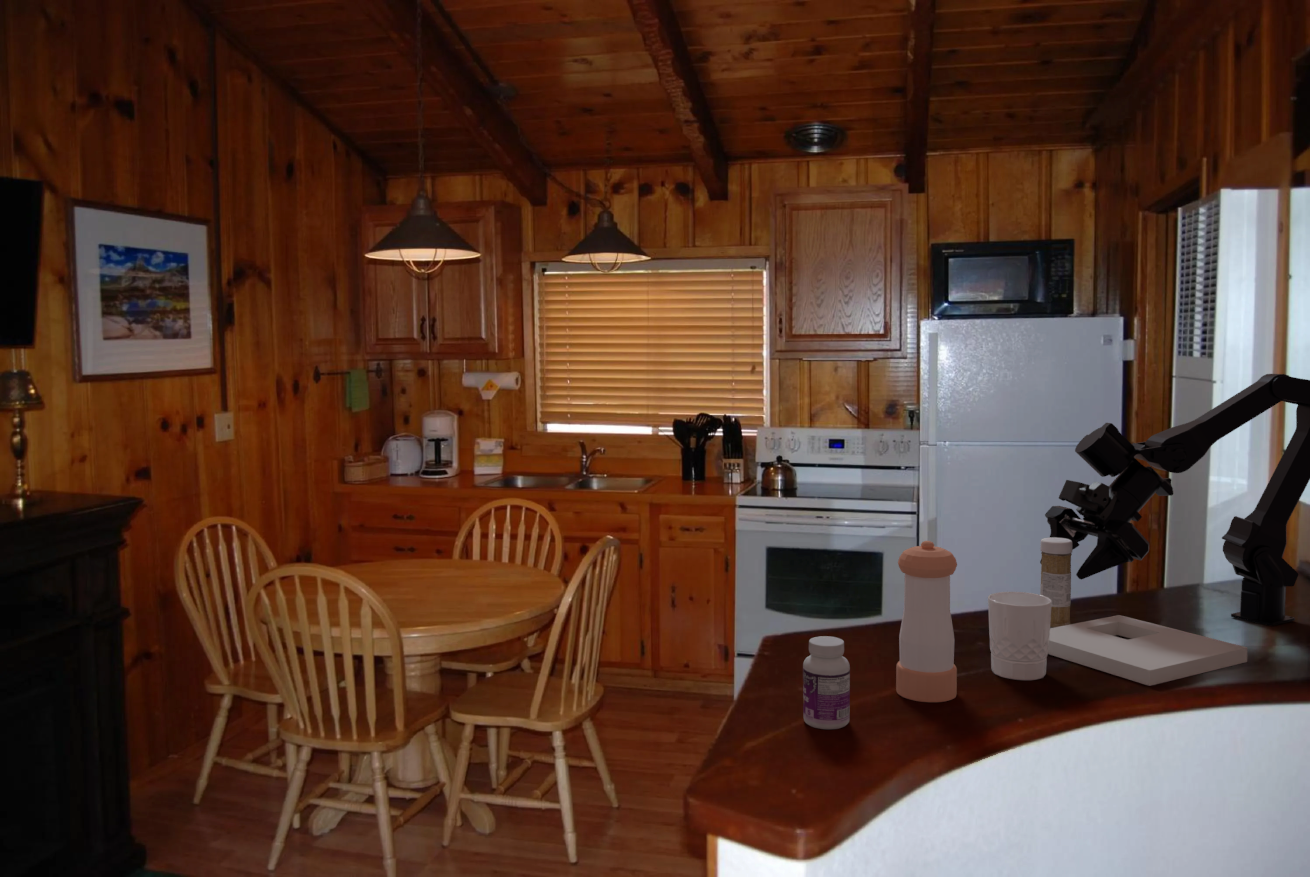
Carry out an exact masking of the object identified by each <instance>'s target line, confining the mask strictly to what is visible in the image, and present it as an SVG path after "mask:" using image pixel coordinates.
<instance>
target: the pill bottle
mask: <svg viewBox="0 0 1310 877" xmlns="http://www.w3.org/2000/svg"><path fill="white" fill-rule="evenodd" d="M808 652H809V654H810V655H809V656H807V657H805V659H804V661H803V663H802V690H803V691H802V694H803V695H802V698H803V699H802V702H803V703H802V705H803V706H802V709H803V710H802V711H803V712H802V713H803V716H802V717H803V721H804V722H805V724H806V725H808V726H810V727H811V728H815V729H821V730H838V729H839V730H840V729H841V728H844V727H846V726H847V725H848V724H849V723H850V718H851V717H850V713H851V712H850V707H851V706H850V704H851V703H850V702H851V701H850V697H851V696H850V695H851V691H850V690H851V689H850V688H851V685H850V684H851V666H850V662H849V660H848V659H847V658H846V657H845V656H843V655H844V653H845V641H844V640H843V639H842V638H840V637H836V636H830V635H829V636H827V635H823V636H815V637H811V638H810V639H809V640H808Z"/></svg>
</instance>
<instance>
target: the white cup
mask: <svg viewBox="0 0 1310 877" xmlns="http://www.w3.org/2000/svg"><path fill="white" fill-rule="evenodd" d="M987 602H988V603H987V604H988V605H987V606H988V630H989V631H988V633H989V649H990V652H991V653H990V667H991V669H990V670H991V671H992V673H993V674H994V675H996V676H999V677H1001V678H1005V679H1008V680H1009V679H1010V680H1016V681H1036V680H1040V679H1044V677H1046V674H1047V660H1048V658H1047V657H1048V655H1049V654H1048V644H1049V636H1050V628H1051V627H1050V621H1051V606H1052V600H1051V599H1050V598H1048V597H1045V596H1042V595H1040V594H1037V593H1033V592H1026V591H1025V592H1023V591H1022V592H1021V591H1000V592H995V593H991V594H989V595H988V597H987Z"/></svg>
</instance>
